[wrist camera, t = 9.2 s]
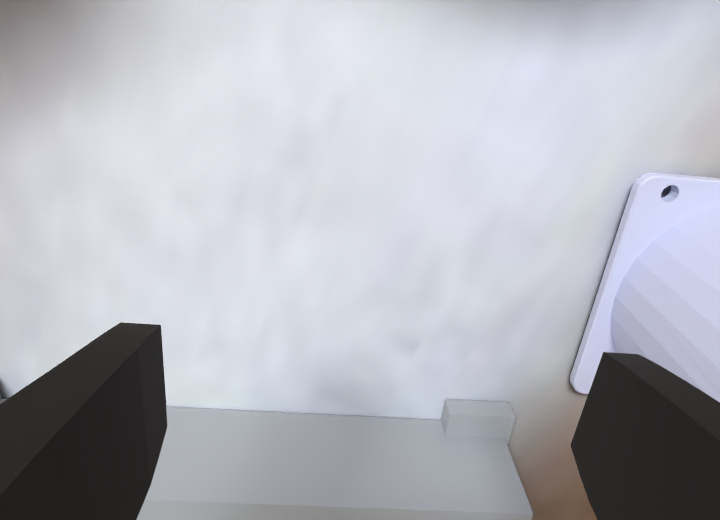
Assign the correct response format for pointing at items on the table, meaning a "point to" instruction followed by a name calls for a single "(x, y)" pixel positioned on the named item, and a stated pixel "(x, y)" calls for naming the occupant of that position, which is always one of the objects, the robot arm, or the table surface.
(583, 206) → the table surface
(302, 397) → the table surface
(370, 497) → the grey barrier bar
